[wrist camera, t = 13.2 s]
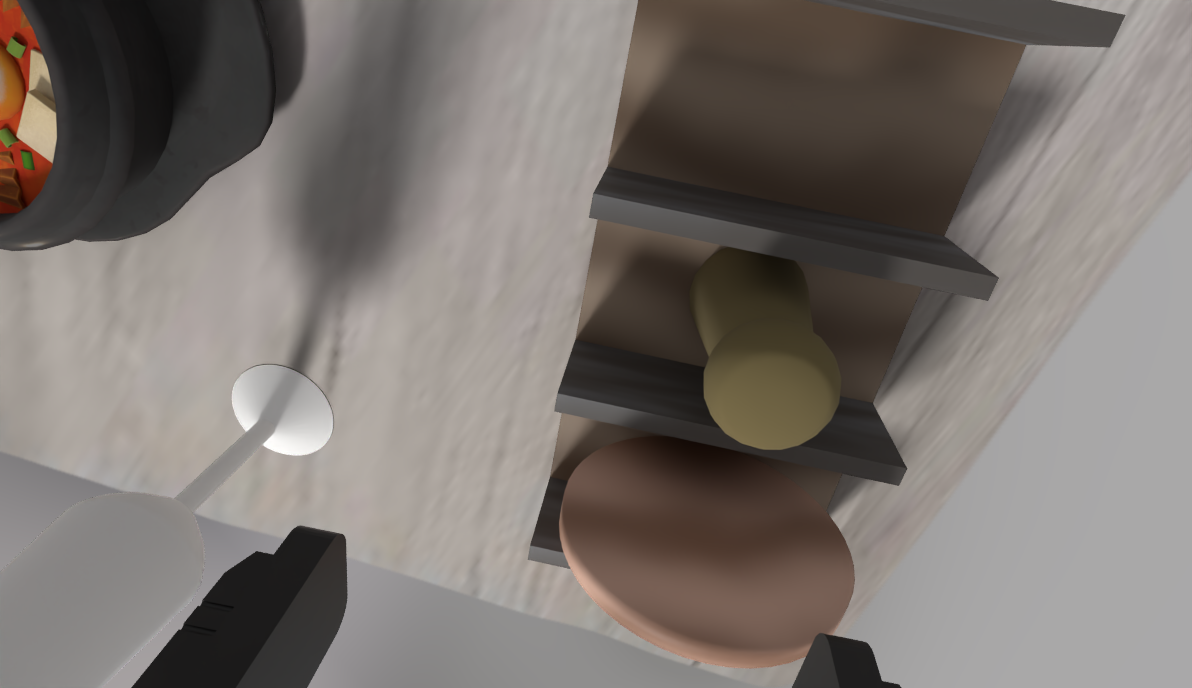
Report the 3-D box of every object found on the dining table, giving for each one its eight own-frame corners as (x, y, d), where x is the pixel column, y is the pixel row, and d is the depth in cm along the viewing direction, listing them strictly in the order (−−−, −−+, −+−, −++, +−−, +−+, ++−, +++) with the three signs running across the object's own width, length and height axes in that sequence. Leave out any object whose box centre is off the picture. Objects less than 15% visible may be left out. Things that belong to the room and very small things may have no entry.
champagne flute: (214, 414, 42) (-265, 808, 21) (258, 343, 40) (-240, 711, 18) (304, 473, 44) (-61, 902, 22) (352, 408, 41) (-9, 825, 19)
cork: (777, 220, 32) (822, 303, 22) (827, 320, 34) (889, 438, 24) (668, 276, 34) (664, 376, 24) (721, 369, 36) (737, 496, 26)
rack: (651, -63, 29) (627, -148, 15) (1028, 12, 28) (1350, -7, 15) (549, 483, 42) (488, 697, 28) (806, 539, 41) (868, 783, 28)
